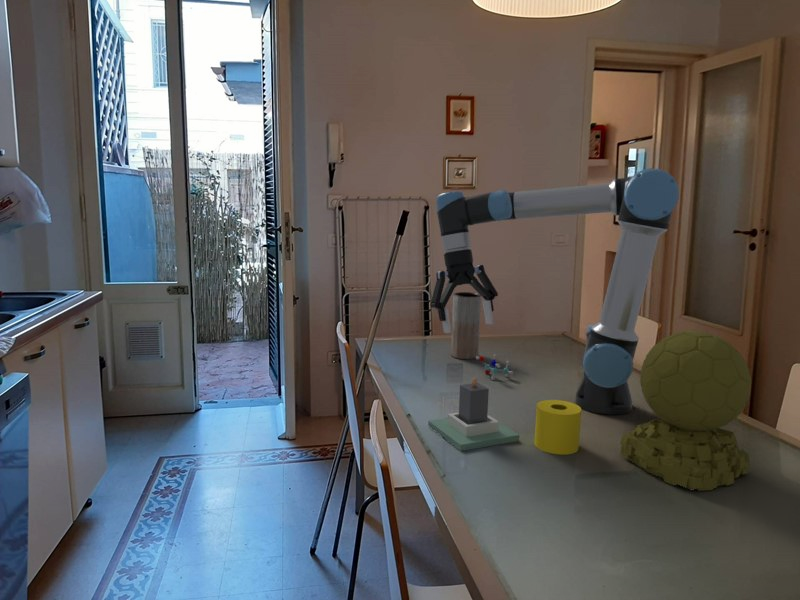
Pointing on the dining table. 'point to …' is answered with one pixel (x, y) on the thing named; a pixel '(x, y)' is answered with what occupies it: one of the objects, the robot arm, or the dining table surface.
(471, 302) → the planter
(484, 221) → the robot arm
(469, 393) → the plug
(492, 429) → the board
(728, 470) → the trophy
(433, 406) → the dining table surface
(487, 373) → the molecular model
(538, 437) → the yellow hollow cylinder
